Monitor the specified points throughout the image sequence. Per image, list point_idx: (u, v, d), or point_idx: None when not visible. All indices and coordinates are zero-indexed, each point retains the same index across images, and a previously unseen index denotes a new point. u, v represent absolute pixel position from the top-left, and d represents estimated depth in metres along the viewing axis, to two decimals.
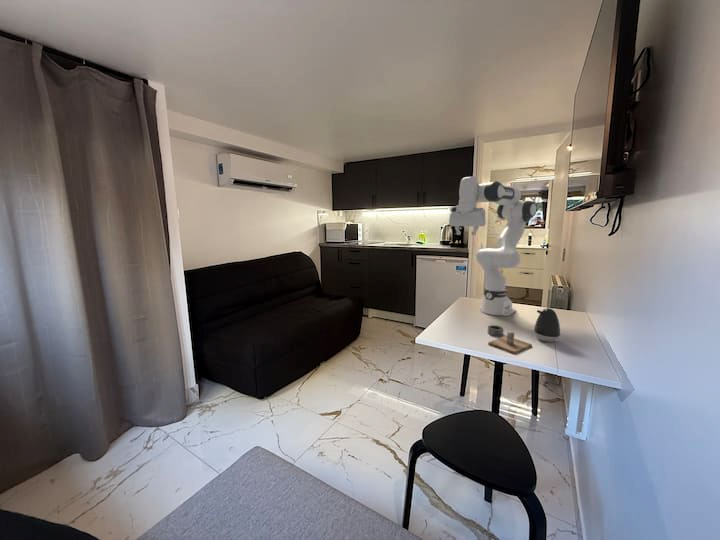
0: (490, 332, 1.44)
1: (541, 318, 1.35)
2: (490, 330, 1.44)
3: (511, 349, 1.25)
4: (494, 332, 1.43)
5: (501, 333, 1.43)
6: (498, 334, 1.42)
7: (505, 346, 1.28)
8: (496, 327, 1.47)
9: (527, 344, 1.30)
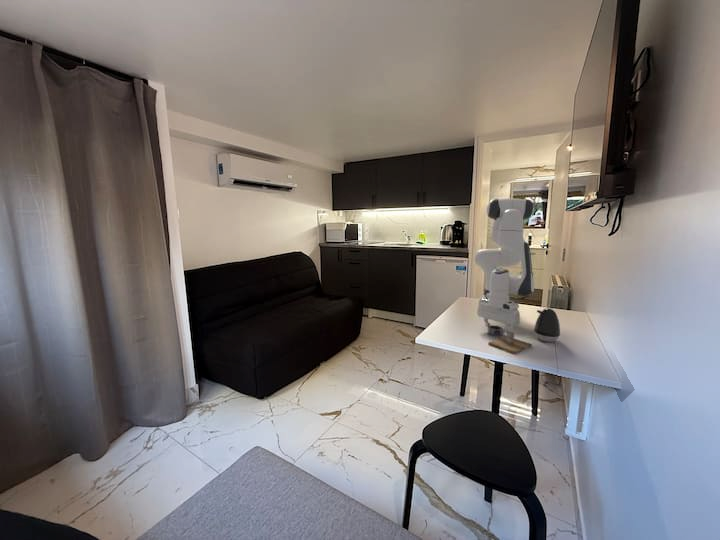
0: (490, 332, 1.44)
1: (541, 318, 1.35)
2: (490, 330, 1.44)
3: (511, 349, 1.25)
4: (494, 332, 1.43)
5: (501, 333, 1.43)
6: (498, 334, 1.42)
7: (505, 346, 1.28)
8: (496, 327, 1.47)
9: (527, 344, 1.30)
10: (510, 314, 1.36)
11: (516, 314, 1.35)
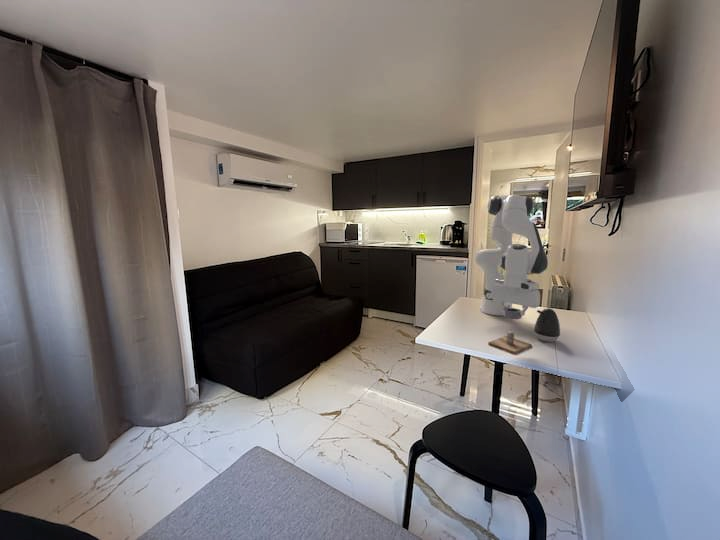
0: (507, 315, 1.28)
1: (541, 318, 1.35)
2: (507, 313, 1.28)
3: (511, 349, 1.25)
4: (512, 315, 1.26)
5: (519, 316, 1.26)
6: (516, 317, 1.26)
7: (505, 346, 1.28)
8: (513, 310, 1.31)
9: (527, 344, 1.30)
10: (530, 294, 1.20)
11: (536, 294, 1.19)
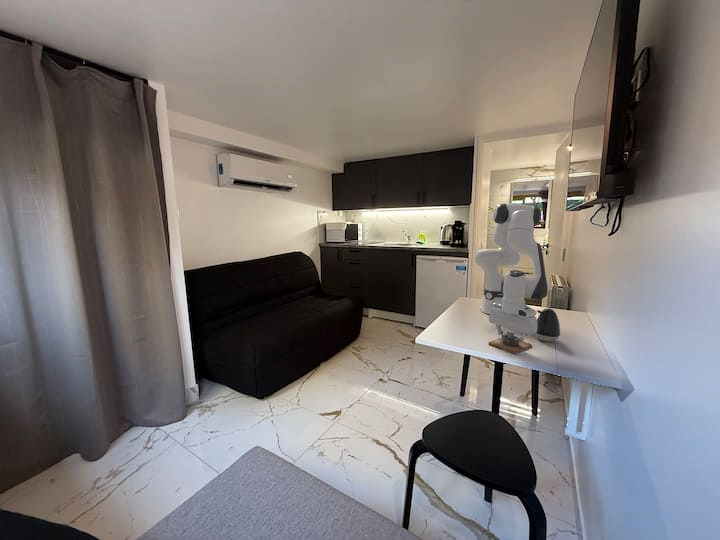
0: (504, 342, 1.30)
1: (541, 318, 1.35)
2: (504, 340, 1.30)
3: (511, 349, 1.25)
4: (509, 342, 1.28)
5: (517, 343, 1.29)
6: (513, 344, 1.28)
7: (505, 346, 1.28)
8: None
9: (527, 344, 1.30)
10: (527, 321, 1.22)
11: (534, 322, 1.21)
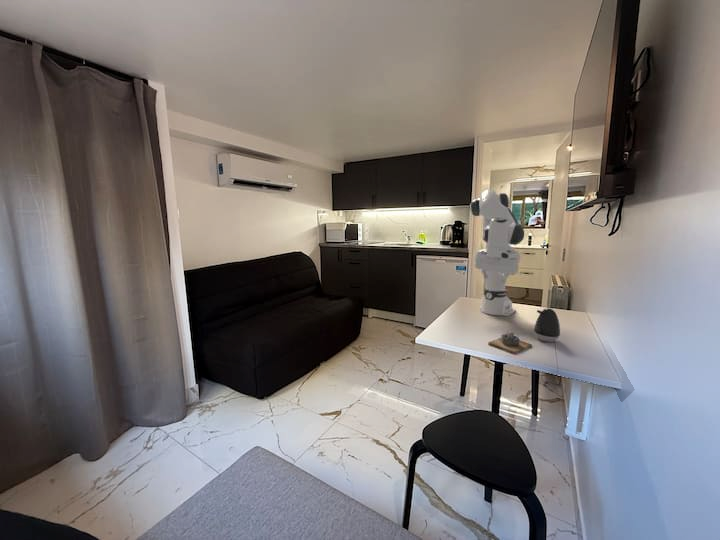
0: (504, 342, 1.30)
1: (541, 318, 1.35)
2: (504, 340, 1.30)
3: (511, 349, 1.25)
4: (509, 342, 1.28)
5: (517, 343, 1.29)
6: (513, 344, 1.28)
7: (505, 346, 1.28)
8: None
9: (527, 344, 1.30)
10: (509, 263, 1.35)
11: (515, 263, 1.34)
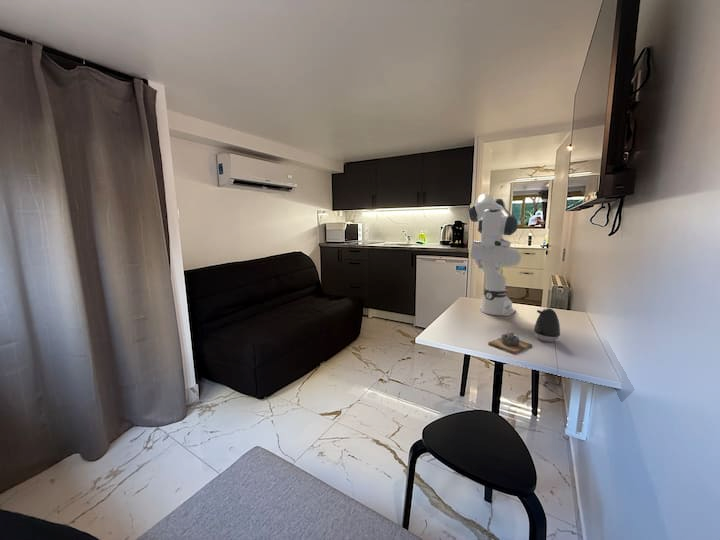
0: (504, 342, 1.30)
1: (541, 318, 1.35)
2: (504, 340, 1.30)
3: (511, 349, 1.25)
4: (509, 342, 1.28)
5: (517, 343, 1.29)
6: (513, 344, 1.28)
7: (505, 346, 1.28)
8: None
9: (527, 344, 1.30)
10: (502, 250, 1.39)
11: (507, 250, 1.38)
